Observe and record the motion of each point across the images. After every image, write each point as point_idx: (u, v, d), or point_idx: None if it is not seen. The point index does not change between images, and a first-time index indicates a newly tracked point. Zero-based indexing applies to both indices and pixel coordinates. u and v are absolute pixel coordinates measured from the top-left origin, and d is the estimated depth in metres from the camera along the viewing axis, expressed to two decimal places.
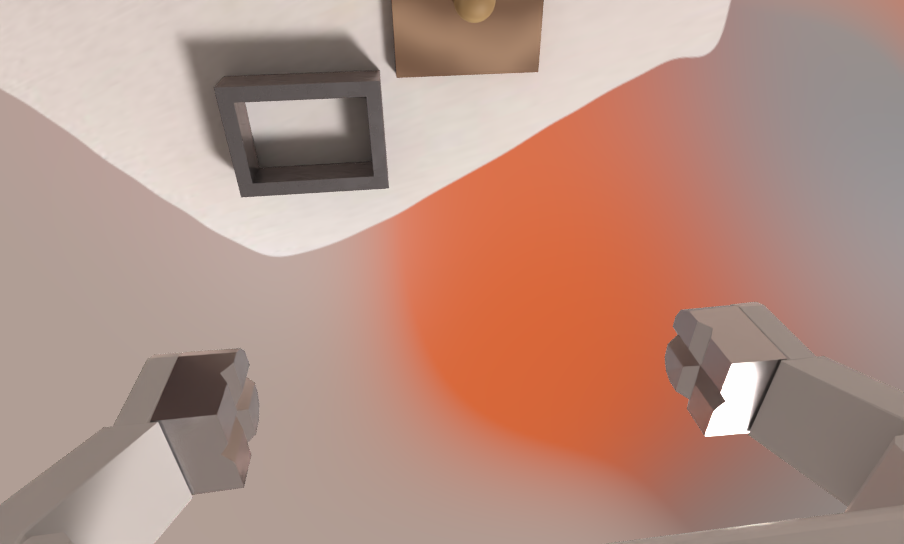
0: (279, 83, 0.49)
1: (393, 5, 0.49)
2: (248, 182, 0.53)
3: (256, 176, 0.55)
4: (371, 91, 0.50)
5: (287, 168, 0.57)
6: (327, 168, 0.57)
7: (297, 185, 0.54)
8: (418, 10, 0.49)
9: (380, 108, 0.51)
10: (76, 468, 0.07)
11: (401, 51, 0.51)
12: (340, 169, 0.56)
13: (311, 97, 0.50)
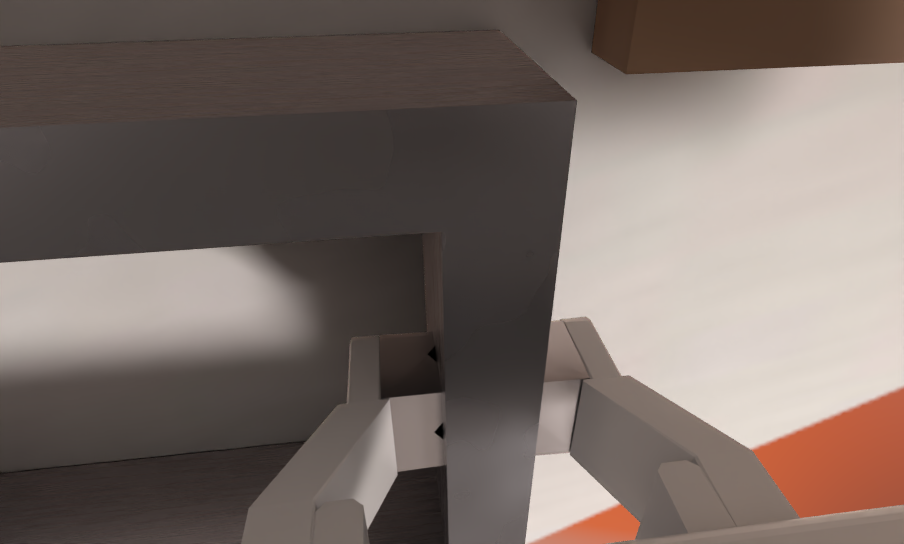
0: None
1: None
2: None
3: None
4: (488, 190, 0.06)
5: (46, 485, 0.13)
6: (224, 490, 0.12)
7: None
8: None
9: (539, 304, 0.07)
10: (334, 441, 0.07)
11: None
12: None
13: None
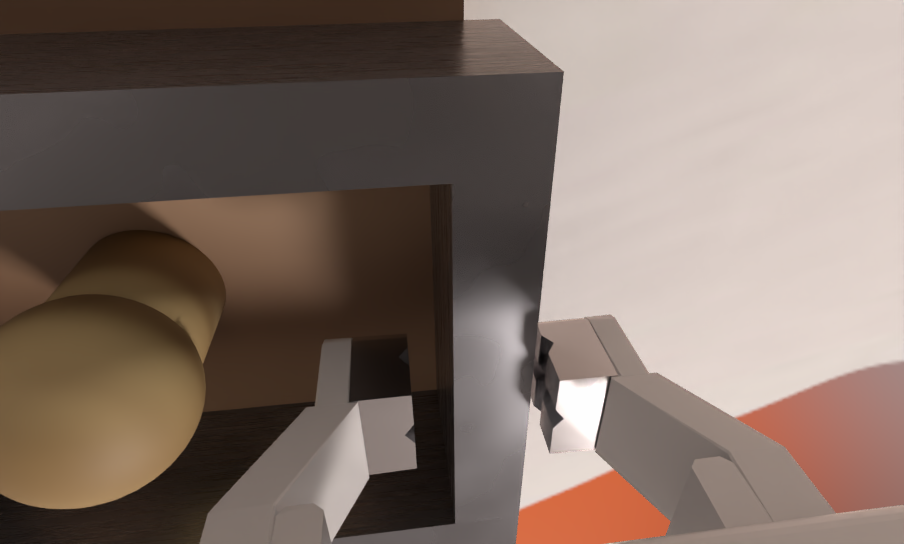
0: None
1: None
2: None
3: None
4: (491, 148, 0.07)
5: None
6: (248, 441, 0.14)
7: None
8: None
9: (534, 249, 0.08)
10: (299, 444, 0.07)
11: None
12: None
13: (51, 195, 0.07)
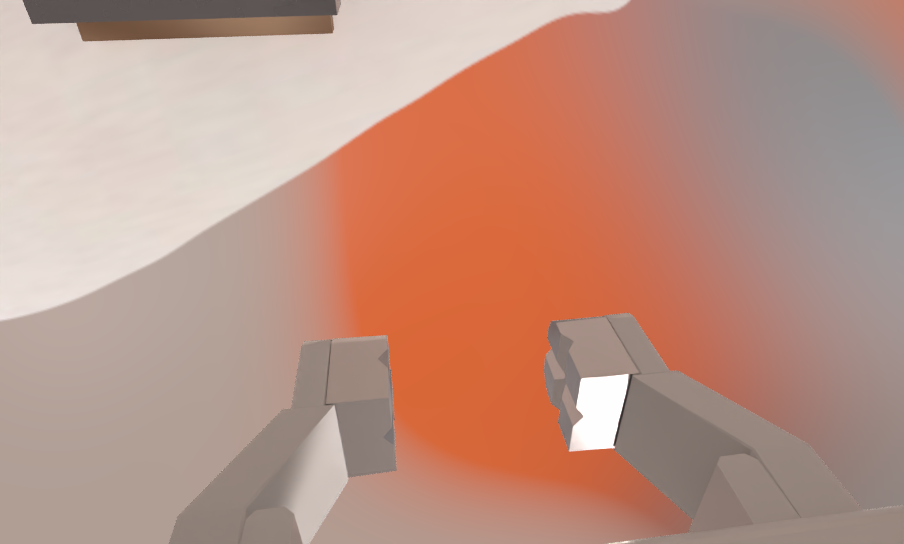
0: None
1: None
2: None
3: None
4: None
5: None
6: None
7: None
8: None
9: None
10: (273, 447, 0.07)
11: None
12: None
13: None
